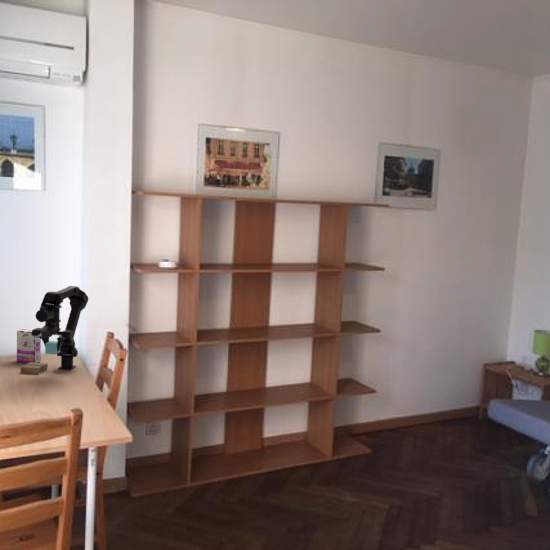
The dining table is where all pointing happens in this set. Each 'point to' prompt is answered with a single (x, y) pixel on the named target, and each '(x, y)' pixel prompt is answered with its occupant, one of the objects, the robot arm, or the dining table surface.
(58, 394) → the dining table surface
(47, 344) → the teal cube
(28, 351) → the candy bar box
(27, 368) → the walnut base block
